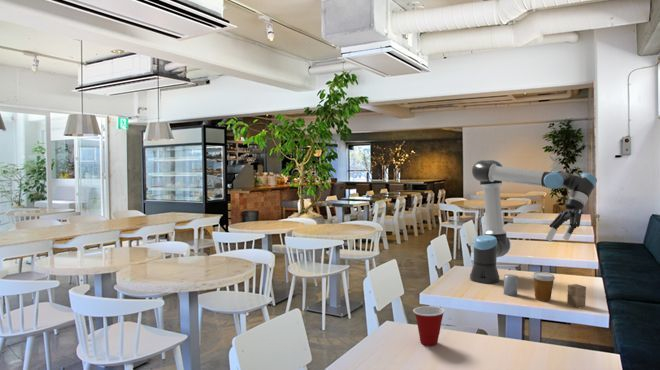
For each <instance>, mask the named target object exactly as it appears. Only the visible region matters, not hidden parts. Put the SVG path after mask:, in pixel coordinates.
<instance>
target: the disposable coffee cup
mask: <svg viewBox="0 0 660 370" xmlns="http://www.w3.org/2000/svg"><path fill="white" fill-rule="evenodd" d="M531 276H532V278H533V279H532V280H533V286H534V287H533V288H534V297H535V298H534V299H535V300H536V301H538V302H550V301H551V299H552V292H553V288H554V287H553V286H554V281H555V279H556V278H555V275H554V274H553V273H551V272H546V271H534V272H533V274H532V275H531Z"/></svg>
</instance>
